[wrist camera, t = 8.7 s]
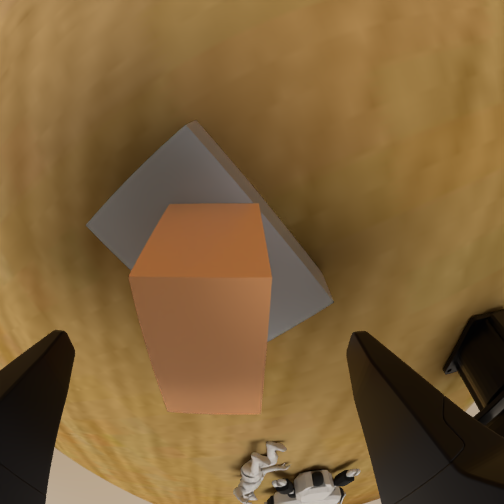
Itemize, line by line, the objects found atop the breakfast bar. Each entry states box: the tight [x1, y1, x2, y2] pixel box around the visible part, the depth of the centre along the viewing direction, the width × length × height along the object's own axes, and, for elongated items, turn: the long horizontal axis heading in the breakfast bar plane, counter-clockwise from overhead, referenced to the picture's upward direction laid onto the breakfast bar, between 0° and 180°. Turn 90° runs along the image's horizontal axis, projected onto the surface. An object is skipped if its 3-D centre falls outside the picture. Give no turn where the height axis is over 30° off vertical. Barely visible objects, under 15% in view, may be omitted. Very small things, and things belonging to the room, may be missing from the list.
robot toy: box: [265, 469, 360, 504], centre depth 32 cm, size 12×4×15 cm
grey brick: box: [86, 120, 334, 342], centre depth 14 cm, size 10×6×3 cm, turn 38°
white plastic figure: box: [233, 441, 290, 504], centre depth 26 cm, size 8×5×12 cm
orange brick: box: [128, 203, 272, 415], centre depth 11 cm, size 6×3×5 cm, turn 179°
